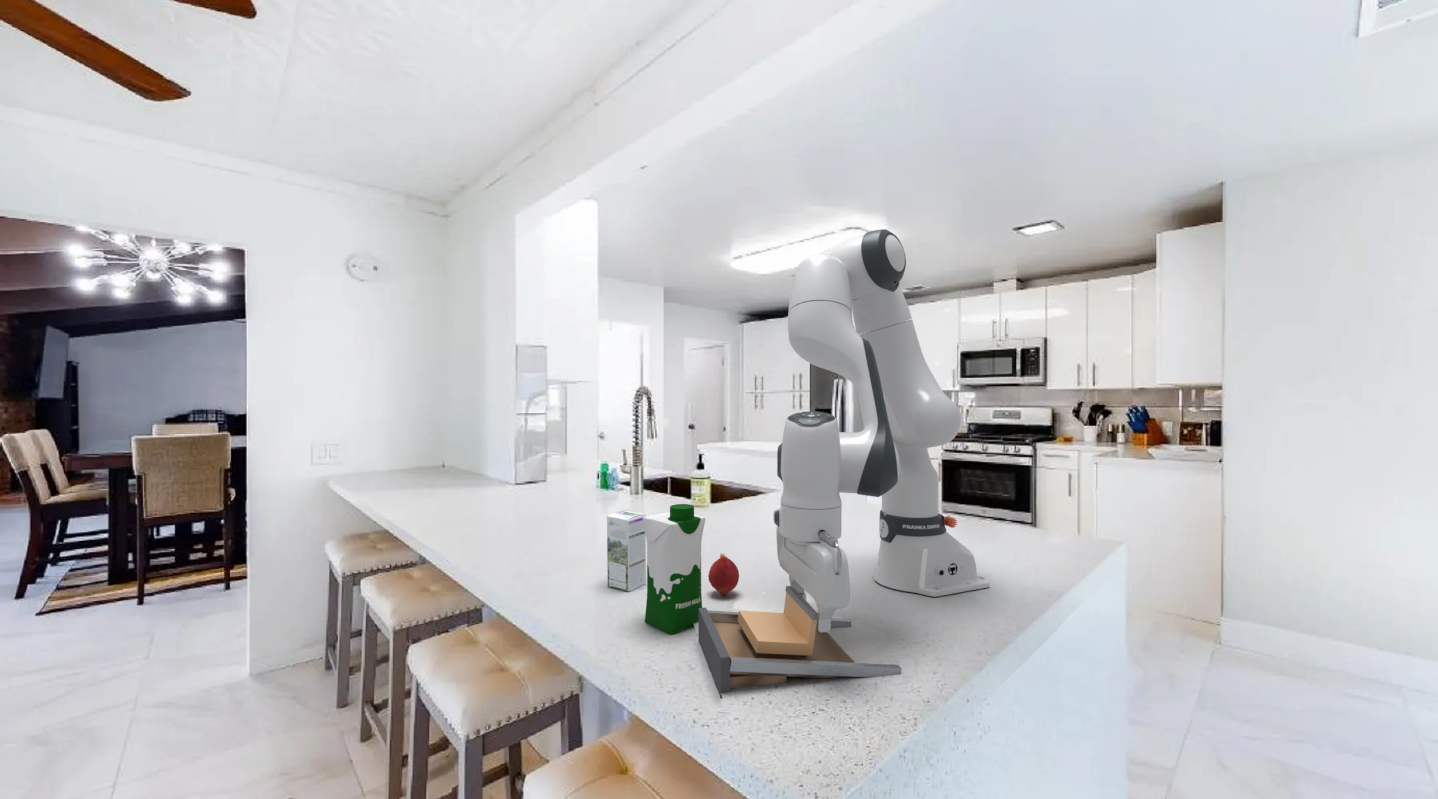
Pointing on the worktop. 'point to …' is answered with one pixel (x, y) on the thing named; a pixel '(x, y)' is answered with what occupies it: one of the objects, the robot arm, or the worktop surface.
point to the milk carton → (673, 568)
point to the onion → (723, 575)
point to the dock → (772, 656)
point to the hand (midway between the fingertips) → (810, 616)
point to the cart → (782, 627)
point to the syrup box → (626, 550)
